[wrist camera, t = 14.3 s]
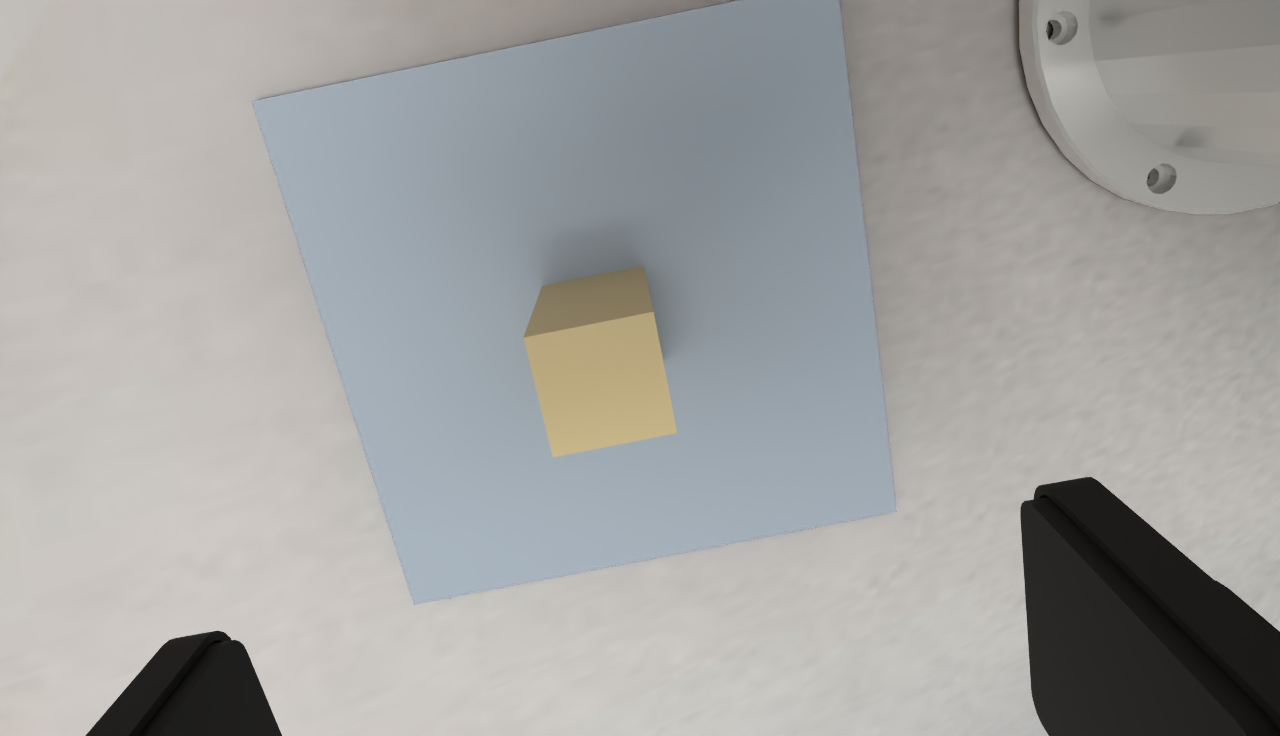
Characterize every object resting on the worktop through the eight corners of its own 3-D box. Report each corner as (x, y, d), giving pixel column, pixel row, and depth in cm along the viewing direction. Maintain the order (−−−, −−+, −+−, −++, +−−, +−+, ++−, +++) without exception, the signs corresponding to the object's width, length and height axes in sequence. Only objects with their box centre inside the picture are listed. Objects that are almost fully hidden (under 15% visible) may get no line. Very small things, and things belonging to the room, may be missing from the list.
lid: (828, -16, 24) (910, -61, 18) (887, 499, 30) (968, 613, 23) (265, 101, 25) (139, 100, 18) (420, 589, 30) (366, 727, 23)
